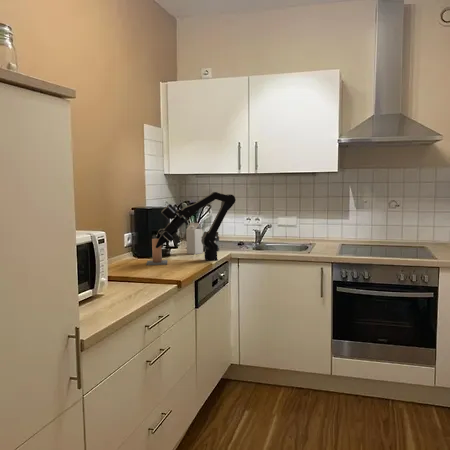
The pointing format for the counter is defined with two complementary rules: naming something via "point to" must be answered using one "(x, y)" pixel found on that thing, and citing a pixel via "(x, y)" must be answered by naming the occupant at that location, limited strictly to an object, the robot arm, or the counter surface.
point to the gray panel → (164, 262)
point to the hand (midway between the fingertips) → (155, 246)
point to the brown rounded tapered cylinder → (156, 251)
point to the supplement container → (214, 242)
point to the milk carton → (194, 239)
